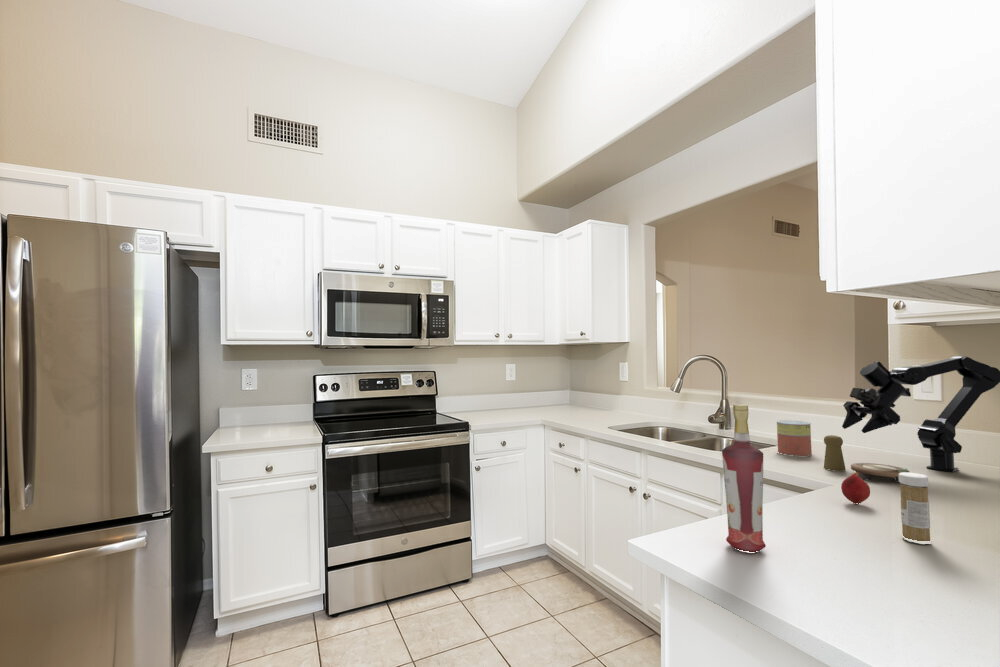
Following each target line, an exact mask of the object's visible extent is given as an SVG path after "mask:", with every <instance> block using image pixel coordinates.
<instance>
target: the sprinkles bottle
mask: <svg viewBox="0 0 1000 667" xmlns="http://www.w3.org/2000/svg"><path fill="white" fill-rule="evenodd" d="M899 482H900V483H899ZM899 482H898V483H899V487H900V516H901V518H900V519H901V529H902V530H901V531H902V535H903V536H904V537H905V538H908V539H912V540H917V541H930V540H931V530H930V529H931V517H930V516H931V515H930V501H929V484H930V483H929V477H928V475H926V474H922V473H917V472H910V471H909V472H902V473H899Z"/></svg>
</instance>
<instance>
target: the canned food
mask: <svg viewBox="0 0 1000 667" xmlns="http://www.w3.org/2000/svg"><path fill="white" fill-rule="evenodd" d="M811 428H812V427H811V422H808V421H801V420H777V421H776V434H777V435H776V436H777V437H776V438H777V453H778V452H779V453H778V454H780V453H782V454H781V455H783V454H786V455H785V456H789V455H793V456H792V457H799V456H807V457H811V456H810V455H812V456H813V453H812V452H813V451H812V430H811Z"/></svg>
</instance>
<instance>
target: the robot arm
mask: <svg viewBox="0 0 1000 667" xmlns="http://www.w3.org/2000/svg"><path fill="white" fill-rule="evenodd" d="M955 371H956V372H957V374H958V375H960V376H962V386H961V388H960V389H959V390H958V391H957V393H956V394H955V395H954V396H953V398H952V399H951V400H950V401H949V403H947V405H946V407H944V409H943V410H942V412H941V413H940V414H939V415H938V417H937V418H935V419H928V418H926V419H925V420H923V422H922V423H921V425H920V426H918V427H917V429H918V431H917V433H916V434H917V438H918V439H919V441H920V443H921V445H922V446H921V447H922V448H923V449H928V450H929V457H930V460H929V461H930V465H927V466H926V469H929V470H936V471H937V470H938V471H942V472H943V471H944V472H950V473H954V472H956V471H959V470H958V469H959V467H956V466H955V457H954V456H955V454H958V453H959V454H960V453H961V452H962V449H963V446H962V445H961V444H960V443H959V442H958V441H957V440H955V437H956V427H957V426H958V424H959V423H960V421H961V420H963V417H965V415H967V412H968V411H969V410H970V409H971V408H972V406H973V405H974V404H975V403H976V401H977V400H978V399H979V398H980V396H981V395H982V394H984V393H986V392H989V391H990V390H992V389H994V388H995V387H997V385H999V384H1000V369H999V368H997V367H994V366H990V365H988V364H986V363H983V362H980V361H977V360H974V359H972V358H971V357H969V356H966V355H965V356H964V355H963V356H962V355H961V356H957V355H955V356H951V357H950V358H946V359H941V360H938V361H934V362H929V363H925V364H921V365H913V366H912V365H911V366H897V367H893V369H892V370H888V369H887V368H886V367H885V366H884V365H883V364H882V363H881V362H880V361H873V362H872V363H870V364H868V365H867V366H865V367H863V368H861V370H860V371H859V374H860V376H862V377H863V378H864V379H865V380H866V381H867V382H868V383H869V384H870V385H871V386H873V387H875V388H877V387H878V389H877V390H876V389H874V388H873V387H872V388H870V387H867V388H866V389H865V388H861V387H852V389H851V392H850V393H849V397H850V398H854V399H856V400H858V401H852V400H851V401H845V403H844V404H842V406H843V407H844V409H845V411H846V416H845V419H844V421H843V422H842V426H841V428H842V429H844V430H846V429H848V428H850V427H852V426H854V425H856V424H857V423H859V422H861V421H863V419H864V418H866V417H867V416H868V415H871V417H870V418H869V420H868V421H867V422H866V423H865V425H864V426H863V427H862V429H861V430H860V431H861V432H862V433H863V434H866V433H870V432H872V431H875V430H878V429H881V428H885V427H888V426H892V425H897V424H898V423H899V422H900V421H901V415H899V414H898V413H897V412H896V411H895V410H894V409H892V408H895V407H896V404H895V402H896V401H897V400H899V399H900V398H901V396H902V397H908V398H909V397H911V396H912V395H911V391H910V390H911V389H910V388H909V387H905V386H906V385H909V386H914V385H916V386H917V385H918V384H921V383H922V382H925V381H926V380H927V379H928V378H930V377H933V376H938V375H942V374H947V373H950V372H955ZM904 385H905V386H904Z"/></svg>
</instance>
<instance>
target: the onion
mask: <svg viewBox="0 0 1000 667" xmlns="http://www.w3.org/2000/svg"><path fill="white" fill-rule="evenodd" d="M858 475H859V474H858V473H856V471H854V472H852V474H851V475H849V476H847V477H846V478H845V479H844V480H843V481H842V482H841V488H840V489H841V493H842V494H843V496H844V497H845V498H846V499H847V500H848V501H849V502H851V503H852V502H853V504H854V503H858V505H860V504H862V503H863V502H865V501H866V500H867V499H869V497H870V495H871V489H870V486H869V484H868V483H867V482H866V481H865V480H863V479H861V478H860V477H858ZM859 503H860V504H859Z"/></svg>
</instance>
